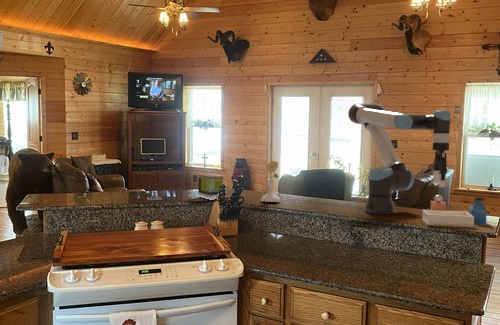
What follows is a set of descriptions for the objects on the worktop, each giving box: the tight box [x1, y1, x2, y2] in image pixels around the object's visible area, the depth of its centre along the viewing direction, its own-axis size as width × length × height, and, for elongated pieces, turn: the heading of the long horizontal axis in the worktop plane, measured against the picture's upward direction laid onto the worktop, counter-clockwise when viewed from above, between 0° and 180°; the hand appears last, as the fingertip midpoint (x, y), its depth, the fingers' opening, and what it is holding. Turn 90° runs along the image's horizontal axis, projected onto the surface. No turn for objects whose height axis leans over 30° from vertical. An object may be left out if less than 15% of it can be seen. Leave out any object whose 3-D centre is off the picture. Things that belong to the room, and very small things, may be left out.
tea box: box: [197, 173, 224, 197], centre depth 289 cm, size 15×10×15 cm
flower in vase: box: [260, 160, 281, 203], centre depth 275 cm, size 13×11×25 cm
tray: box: [422, 209, 475, 228], centre depth 222 cm, size 13×20×5 cm, turn 79°
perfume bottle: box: [468, 196, 487, 225], centre depth 225 cm, size 6×6×12 cm
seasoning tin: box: [429, 200, 447, 211], centre depth 233 cm, size 6×6×8 cm
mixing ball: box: [433, 194, 444, 203], centre depth 233 cm, size 4×4×4 cm
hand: (439, 185), depth 232 cm, fingers open, 13 cm apart
